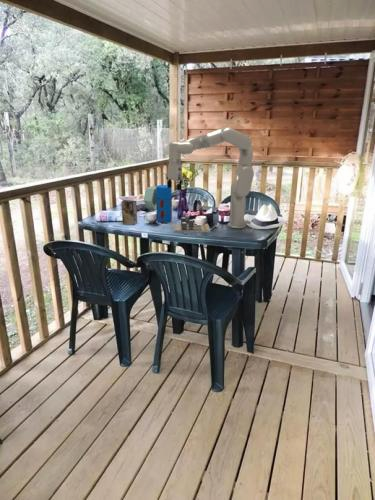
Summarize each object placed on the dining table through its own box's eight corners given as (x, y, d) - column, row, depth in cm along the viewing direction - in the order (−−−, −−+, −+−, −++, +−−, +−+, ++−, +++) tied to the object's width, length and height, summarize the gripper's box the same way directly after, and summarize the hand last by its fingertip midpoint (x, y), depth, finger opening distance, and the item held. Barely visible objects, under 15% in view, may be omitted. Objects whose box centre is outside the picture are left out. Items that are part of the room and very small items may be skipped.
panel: (207, 225, 245) (207, 222, 244) (210, 232, 230) (210, 229, 229) (173, 225, 244) (173, 223, 243) (173, 232, 229) (173, 230, 228)
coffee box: (137, 222, 249) (137, 200, 244) (134, 225, 243) (133, 202, 238) (125, 221, 251) (124, 199, 246) (122, 224, 245) (120, 201, 240)
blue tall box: (169, 223, 248) (169, 188, 240) (155, 222, 250) (154, 187, 242) (173, 219, 258) (173, 185, 250) (159, 218, 260) (158, 184, 252)
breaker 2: (186, 228, 231) (186, 222, 230) (186, 229, 229) (186, 223, 228) (181, 228, 231) (181, 222, 230) (181, 229, 229) (182, 223, 228)
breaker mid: (193, 225, 237) (193, 219, 236) (193, 226, 235) (193, 220, 234) (188, 225, 237) (188, 219, 236) (189, 226, 235) (189, 220, 233)
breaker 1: (185, 223, 243) (185, 217, 241) (185, 224, 240) (185, 218, 239) (181, 223, 242) (181, 217, 241) (181, 224, 240) (181, 218, 239)
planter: (157, 214, 287) (149, 196, 272) (149, 213, 291) (140, 195, 275) (166, 200, 295) (159, 181, 280) (159, 199, 299) (151, 180, 284)
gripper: (188, 163, 221) (187, 190, 227) (170, 160, 233) (170, 186, 239) (179, 163, 216) (178, 191, 222) (161, 160, 228) (161, 187, 234)
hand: (174, 188), depth 230 cm, fingers open, 9 cm apart
